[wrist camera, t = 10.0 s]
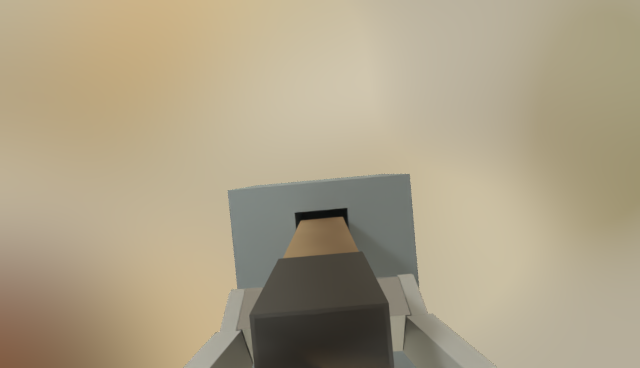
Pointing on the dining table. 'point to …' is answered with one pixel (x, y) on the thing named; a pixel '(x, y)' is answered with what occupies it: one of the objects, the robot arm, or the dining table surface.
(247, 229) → the cabinet
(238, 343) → the robot arm
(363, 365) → the lever
